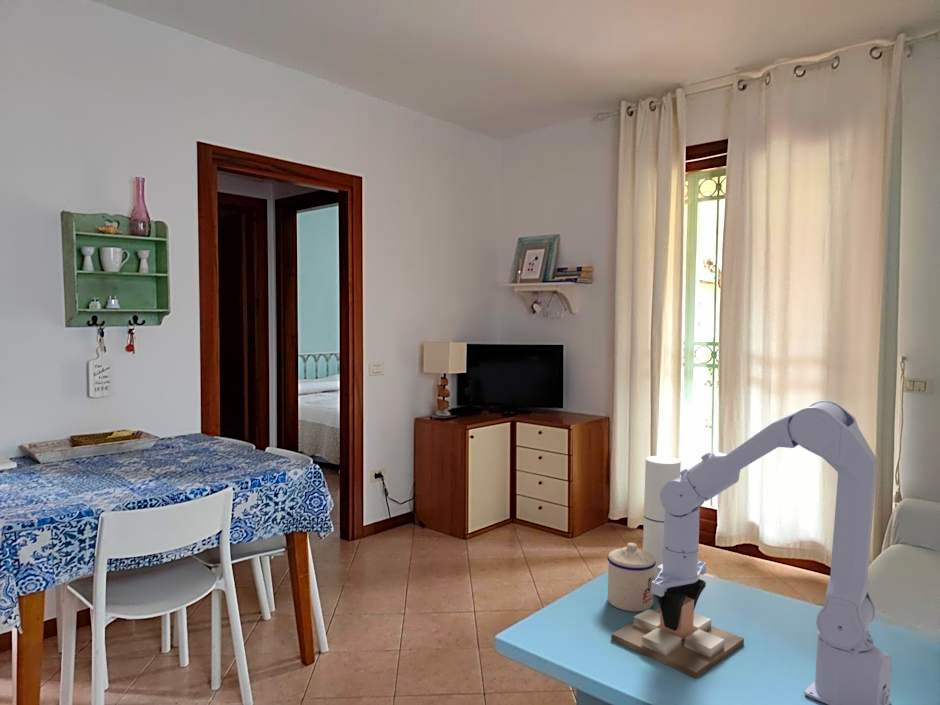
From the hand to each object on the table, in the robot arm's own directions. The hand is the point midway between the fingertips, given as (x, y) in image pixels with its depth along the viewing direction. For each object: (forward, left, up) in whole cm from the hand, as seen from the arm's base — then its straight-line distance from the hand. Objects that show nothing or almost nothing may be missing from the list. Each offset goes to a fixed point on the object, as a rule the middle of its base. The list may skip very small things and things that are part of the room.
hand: (677, 623), depth 117 cm
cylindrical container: (+18, -23, -3) cm, 29 cm away
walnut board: (0, 0, -3) cm, 3 cm away
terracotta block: (0, 0, -2) cm, 2 cm away
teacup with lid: (+15, -8, -3) cm, 17 cm away
